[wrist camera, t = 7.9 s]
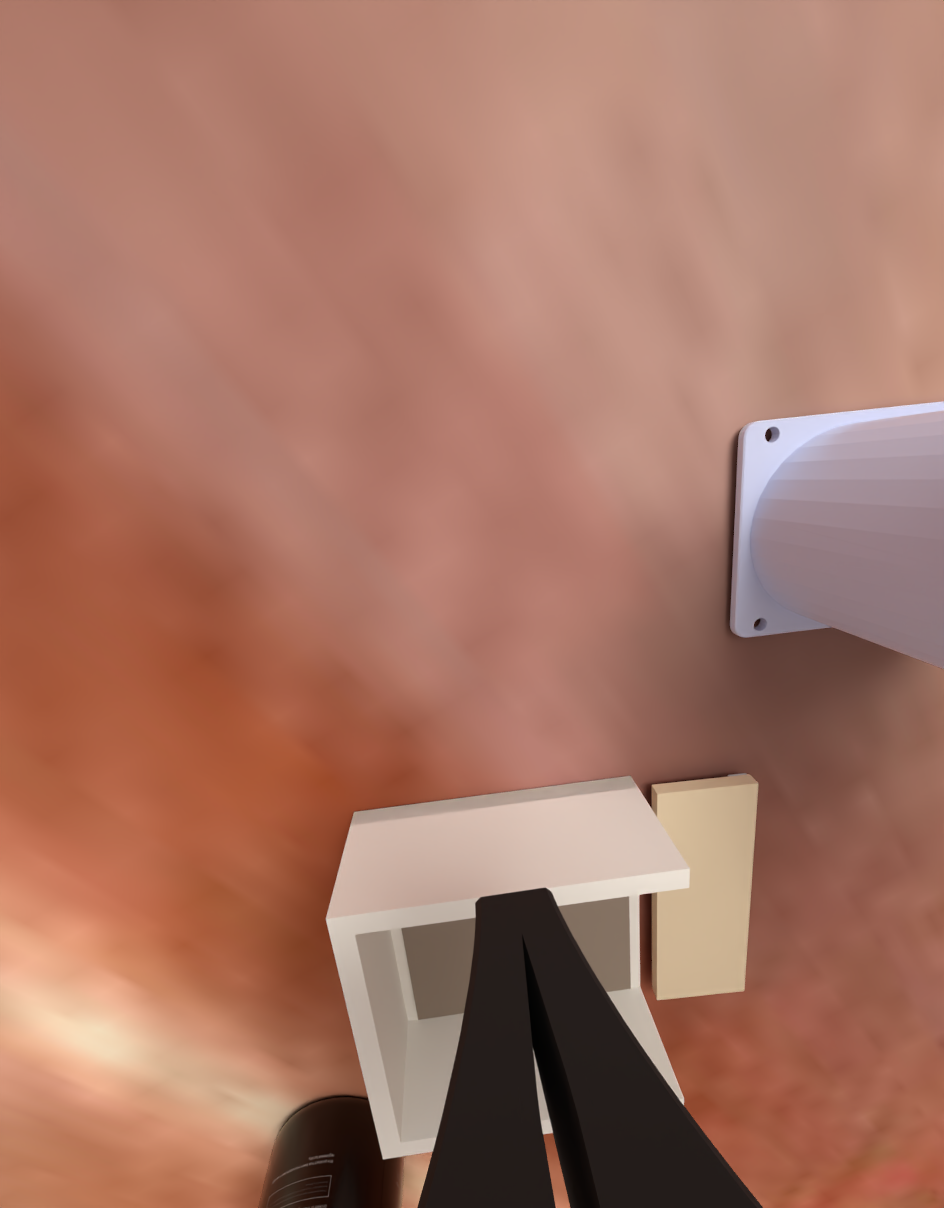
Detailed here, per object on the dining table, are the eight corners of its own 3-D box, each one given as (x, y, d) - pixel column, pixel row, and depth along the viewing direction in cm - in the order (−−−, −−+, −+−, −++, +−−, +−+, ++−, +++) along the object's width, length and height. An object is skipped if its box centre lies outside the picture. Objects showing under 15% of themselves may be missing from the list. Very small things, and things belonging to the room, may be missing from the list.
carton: (630, 775, 20) (689, 868, 15) (633, 981, 23) (683, 1112, 19) (354, 811, 20) (325, 918, 15) (395, 1016, 23) (383, 1159, 18)
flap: (650, 783, 20) (748, 772, 20) (651, 985, 23) (735, 975, 23) (657, 793, 19) (758, 783, 19) (657, 1000, 22) (744, 991, 22)
